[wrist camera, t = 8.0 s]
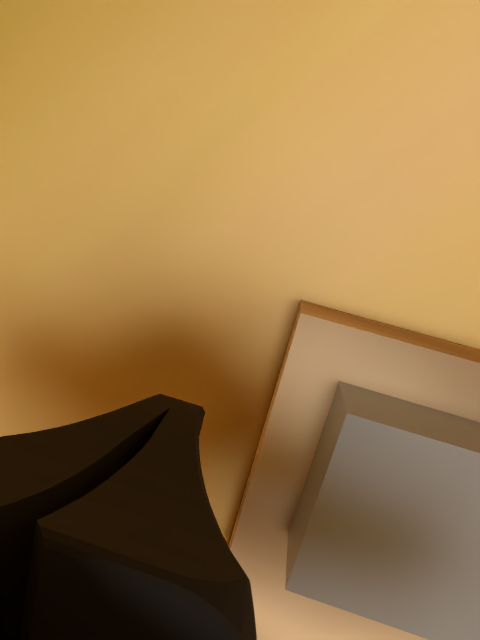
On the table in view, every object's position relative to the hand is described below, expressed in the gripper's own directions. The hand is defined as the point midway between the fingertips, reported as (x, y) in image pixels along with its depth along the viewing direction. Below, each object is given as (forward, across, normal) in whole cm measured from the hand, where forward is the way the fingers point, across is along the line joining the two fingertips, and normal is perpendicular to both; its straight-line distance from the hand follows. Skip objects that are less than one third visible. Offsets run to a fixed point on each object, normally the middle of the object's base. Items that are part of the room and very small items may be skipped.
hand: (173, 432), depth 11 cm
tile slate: (+1, -6, 0) cm, 6 cm away
